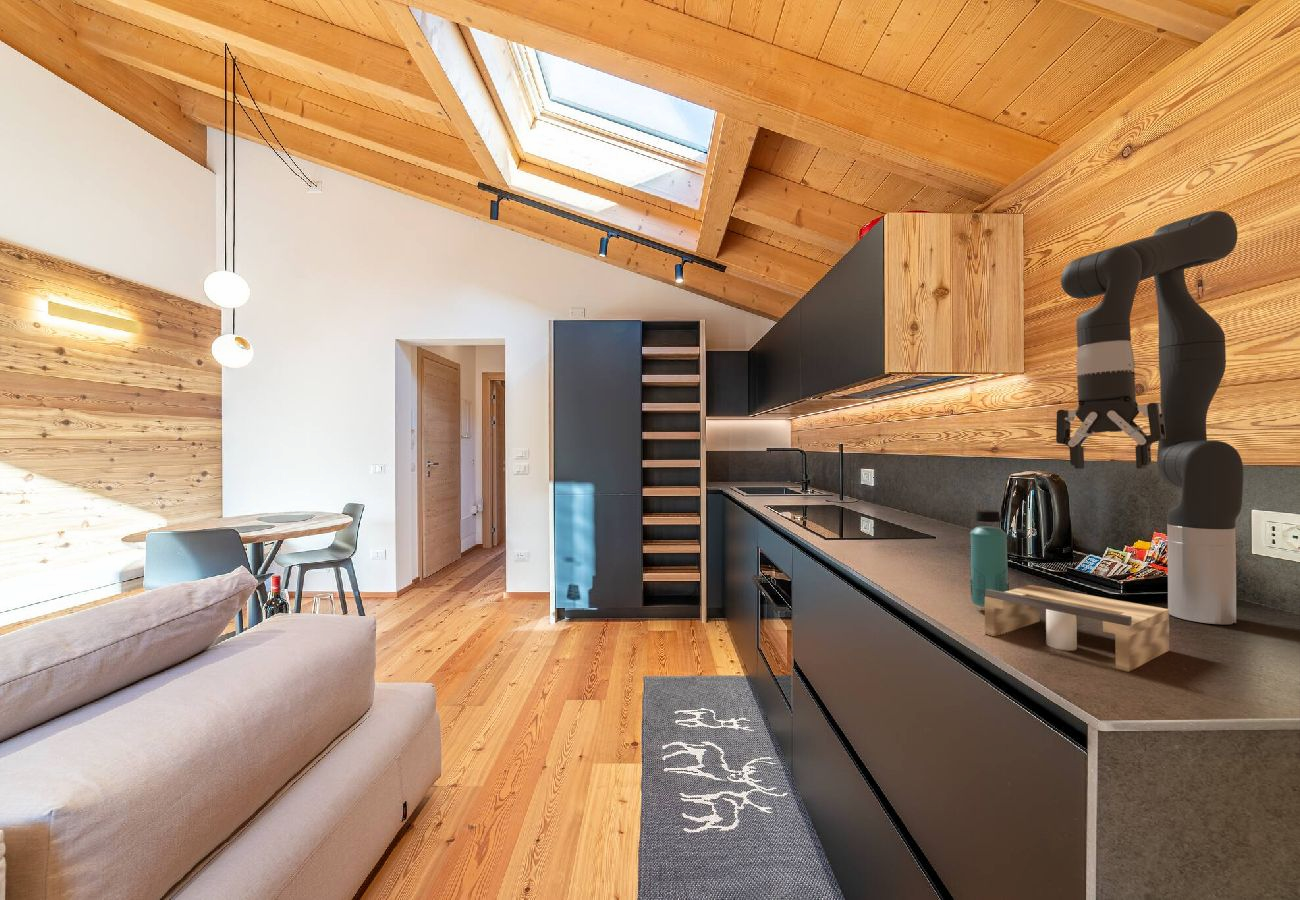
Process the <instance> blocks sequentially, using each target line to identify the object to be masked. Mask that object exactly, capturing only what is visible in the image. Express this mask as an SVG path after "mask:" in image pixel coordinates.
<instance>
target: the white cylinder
mask: <svg viewBox="0 0 1300 900" xmlns="http://www.w3.org/2000/svg"><path fill="white" fill-rule="evenodd" d="M1077 622H1078V621H1077V615H1072V614H1067V613H1063V612H1058V611H1053V610H1048V609H1045V630H1046V632H1045V634H1046V635H1045V636H1046V637H1045V638H1046V640H1045V643H1046V646H1048V647H1049V646H1050V648H1052V647H1053V649H1054V650H1055V649H1056V650H1061V651H1070V652H1071V651H1076V650H1077V649H1078V647H1077V645H1078V639H1077V637H1078V634H1077V633H1078V631H1077Z"/></svg>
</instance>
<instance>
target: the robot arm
mask: <svg viewBox="0 0 1300 900" xmlns="http://www.w3.org/2000/svg"><path fill="white" fill-rule="evenodd" d="M1237 243H1238V228H1237V225H1236V222H1235V220H1234V218H1233V217H1232V215H1230V214H1229V213H1227V212H1226V211H1225V212H1224V211H1222V210H1213V211H1212V210H1211V211H1206V212H1202V213H1199V214H1195V215H1193V216H1189V217H1187V218H1186V217H1185V218H1182V219H1180V220H1177V221H1173V222H1171V223H1168V224H1164V225H1161V226H1160V227H1158V228H1157V229H1156V230H1155V231H1154V233H1153V235H1151V236H1147V237H1143V238H1140V239H1139V238H1138V239H1135V240H1132V241H1129V242H1126V243H1123V244H1121V245H1117V246H1114V247H1110V248H1107V249H1103V250H1101V251H1098V252H1097V251H1096V252H1095V253H1094V252H1093V253H1091V254H1086V255H1084V256H1081V257H1078V258H1076V259H1073V260H1072V261H1070V262H1069V263H1068V264H1067V265H1066V266H1065V268H1064V269H1063V271H1062V273H1061V276H1060V285H1061V288H1062V290H1063V292H1064V293H1065V294H1066V295H1068V296H1069V297H1070V298H1073V299H1077V300H1084V299H1090V298H1093V297H1098V296H1102V295H1104V296H1103V297H1102V299H1101V302H1100V303H1099V304H1097V305H1095V307H1093V308H1090V309H1088V310H1086V311H1084V312H1082V313H1080V314H1079V315H1078V317H1077V319H1076V345H1077V348H1076V349H1077V351H1076V359H1075V360H1076V384H1077V386H1076V387H1077V401H1078V405H1077V408H1076V409H1075V410H1074V409H1072V410H1070V409H1058V410H1057V411H1056V430H1055V431H1056V432H1055V441H1056V443H1057V444H1061V445H1063V446H1067V447H1068V448H1069V463H1070V465H1071V466H1073V467H1074V469H1075V470H1081V469H1082V470H1083V469H1085V455H1084V454H1085V453H1084V450H1085V449H1084V447H1083V446H1082V445H1083V444H1084V443H1085V441H1086V440H1088V438H1090V436H1092V434H1093V433H1095V434H1097V433H1108V432H1109V433H1114V432H1115V433H1117V432H1120V433H1121V432H1124V433H1125V434H1126V435H1127V436H1129V437H1130V438H1131V439H1133V441H1134V442H1136V444H1137V445H1135V446H1134V448H1135V449H1134V450H1135V463H1136V465H1135V467H1136V469H1137V470H1145V469H1147V468H1148V467H1147V466H1149V465H1150V466H1151V464H1152V450H1151V449H1152V447H1151V446H1152V445H1153V443H1157V442H1158V445H1157V455H1156V465H1157V470H1158V472H1159V474H1160V477H1161V478H1162V479H1163V480H1164V481H1165V482H1166V483H1167V484H1168V485H1171V486H1172V487H1176V488H1179V489H1181V500H1180V501H1179V503H1178V504H1176V506H1174V507H1171V508H1170V509H1168V511H1167V514H1166V520H1167V521H1166V524H1167V526H1166V527H1167V530H1166V531H1167V609H1169V616H1170V615H1171V616H1173V617H1174V618H1179V619H1182V620H1186V621H1191V622H1195V623H1196V622H1197V623H1202V624H1203V623H1204V624H1212V625H1233V623H1235V624H1237V553H1236V552H1237V548H1236V547H1237V546H1236V541H1237V540H1236V523H1237V522H1236V520H1237V518H1238V516H1239V515H1240V513H1241V510H1242V506H1243V489H1244V464H1243V461H1242V457H1241V455H1240V453H1239V452H1238V450H1237V449H1236V448H1235V447H1234V446H1233V445H1231V444H1229V443H1226V442H1223V441H1219V440H1214V439H1213V440H1208V435H1207V415H1208V411H1209V408H1210V405H1211V403H1212V401H1213V398H1214V396H1215V395H1216V392H1217V390H1218V389H1219V386H1220V384H1221V382H1222V380H1223V378H1224V374H1225V371H1226V365H1227V364H1226V363H1227V360H1226V359H1227V357H1226V355H1227V354H1226V353H1227V352H1226V336H1225V332H1224V330H1223V328H1222V326H1220V324H1219V323H1218V322H1217V321H1216V319H1214V318H1213V316H1211V315H1210V314H1209V312H1207V311H1206V310H1205V309H1204V308H1203V307H1202V306H1201V305H1199V303H1197V301H1196V300H1195V299H1194V297H1193V296H1192V295H1191V294H1190V292H1189V290H1188V287H1187V283H1186V280H1185V270H1186V269H1191V268H1195V267H1199V266H1203V265H1206V264H1211V263H1214V262H1217V261H1220V260H1222V259H1224V258H1226V257H1227V256H1229V255H1231V253H1232V252H1233V251H1234V250H1235V248H1236V246H1237ZM1152 277H1153V279H1154V287H1155V292H1156V293H1155V294H1156V299H1157V300H1156V302H1157V314H1158V315H1157V318H1158V348H1157V349H1158V369H1159V380H1160V381H1159V382H1160V384H1159V386H1160V389H1159V391H1160V393H1159V395H1160V397H1159V398H1160V402H1149V403H1148V404H1140V405H1139V404H1138V402H1137V399H1136V377H1135V368H1136V363H1135V356H1134V350H1133V347H1132V338H1131V337H1132V334H1131V313H1132V308H1133V305H1134V302H1135V301H1134V300H1135V297H1136V294H1137V290H1138V288H1139V287H1138V286H1139V283H1140V282H1143V281H1145V280H1148V279H1150V278H1152ZM1140 413H1142V414H1143V417H1145V418H1148V426H1149V433H1150V434H1146V432H1145V431H1143V428H1142V427H1140V426H1139V424H1137V423H1136V422H1135V421H1134V420H1135V418H1136V417H1137V416H1138V415H1139V414H1140ZM1075 417H1077V419H1079V421H1080V422H1081V425H1080V426H1079V427H1078V428H1077V429H1076V430H1075V432H1074V434H1073V436H1072V437H1071V424H1072V422H1073V421H1074V420H1075Z"/></svg>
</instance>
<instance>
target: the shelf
mask: <svg viewBox="0 0 1300 900" xmlns="http://www.w3.org/2000/svg"><path fill="white" fill-rule="evenodd" d="M985 594H986V597H985V607H984V635H985V634H988V635H987V636H989V635H991V636H990V637H992V636H995V637H997V636H996V635H998V636H1001V635H1003V634H1002V633H1004V634H1007V633H1010V632H1012V631H1016V630H1018V629H1022V628H1026V627H1028V626H1030V625H1034V624H1036V623H1039V622H1041V621H1040V617H1041V616H1040V615H1041V614H1040V612H1041V611H1040V609H1043V610H1046V609H1048V610H1053V611H1058V612H1063V613H1067V614H1072V615H1076V617H1077V616H1078V617H1083V618H1088V619H1091V620H1096V621H1102V632H1103V633H1108V634H1114V637H1115V638H1114V641H1115V643H1114V644H1115V645H1114V647H1115V669H1116V670H1120V671H1123V672H1128V673H1130V672H1131V671H1133V670H1135V669H1137V668H1139V667H1141V666H1143V665H1144V664H1146V663H1148V662H1150V661H1152V660H1153V659H1156V658H1157V657H1158V658H1159V657H1160V656H1161V655H1163V654H1165V653H1168V652H1169V651H1170V614H1169V609H1168V608H1163V607H1160V606H1159V607H1158V606H1153V605H1146V604H1141V603H1136V602H1131V601H1126V600H1119V599H1118V600H1117V599H1113V598H1107V597H1102V596H1096V595H1090V594H1085V593H1079V592H1073V591H1068V590H1063V589H1062V590H1061V589H1056V588H1050V587H1045V586H1039V585H1034V584H1029V585H1025V586H1024V585H1023V586H1020V587H1018V588H1017V587H1016V588H1012V589H1009V591H1005V592H1002V591H997V590H991V589H986V590H985ZM1009 631H1010V632H1009ZM1006 632H1007V633H1006ZM1000 634H1001V635H1000Z"/></svg>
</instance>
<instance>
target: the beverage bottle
mask: <svg viewBox="0 0 1300 900" xmlns="http://www.w3.org/2000/svg"><path fill="white" fill-rule="evenodd" d="M1000 517H1001V516H1000V511H998V510H991V509H979V510H976V516H975V521H976V522H982V523H983V522H984V523H1000V522H1001V518H1000ZM969 534H970V568H969V569H970V598H971V601H972V604H973V605H976V606H979V607H982V608H985V597H986V594H985V590H986V589H991V590H997V591H1002V592H1005V591H1009V590H1010V587H1009V586H1010V582H1009V579H1010V578H1009V577H1010V576H1009V569H1010V568H1009V566H1008V565H1009V564H1008V547H1007V546H1008V545H1007V542H1008V540H1007V537H1008V534H1007V533H1006V532H1005V530H1003V528H1001V527H997V526H986V525H985V526H983V525H982V526H980V525H979V526H976V527H974V528H973V529H971V531H970V532H969Z"/></svg>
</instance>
